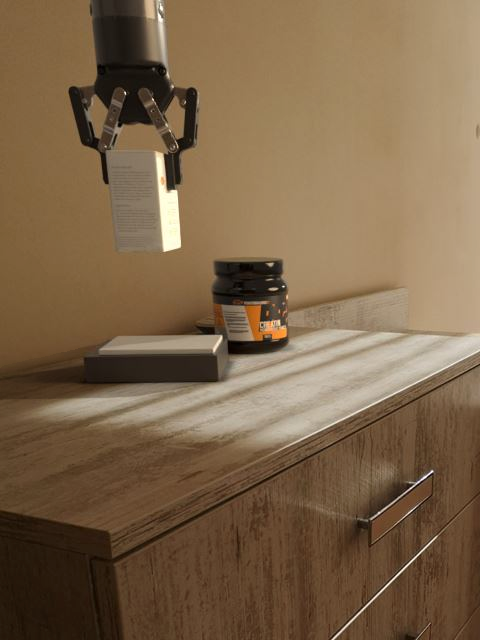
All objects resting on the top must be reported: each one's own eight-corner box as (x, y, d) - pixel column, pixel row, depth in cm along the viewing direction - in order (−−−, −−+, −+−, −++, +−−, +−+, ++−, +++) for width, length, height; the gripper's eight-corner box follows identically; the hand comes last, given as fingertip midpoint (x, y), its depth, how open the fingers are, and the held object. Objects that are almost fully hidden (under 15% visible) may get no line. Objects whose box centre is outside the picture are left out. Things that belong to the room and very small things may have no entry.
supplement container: (230, 357, 109) (225, 263, 105) (204, 345, 117) (198, 258, 113) (302, 350, 114) (300, 260, 110) (272, 339, 122) (269, 255, 118)
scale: (84, 383, 94) (80, 351, 92) (108, 363, 105) (105, 334, 104) (218, 381, 95) (216, 350, 94) (228, 361, 106) (226, 333, 105)
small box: (136, 248, 98) (127, 153, 95) (182, 248, 98) (175, 153, 94) (114, 252, 91) (103, 149, 87) (164, 252, 91) (155, 149, 87)
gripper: (202, 27, 90) (212, 190, 96) (69, 25, 89) (87, 190, 95) (193, 13, 83) (204, 190, 89) (48, 10, 82) (69, 189, 88)
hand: (143, 189), depth 92 cm, fingers closed on small box, 6 cm apart
